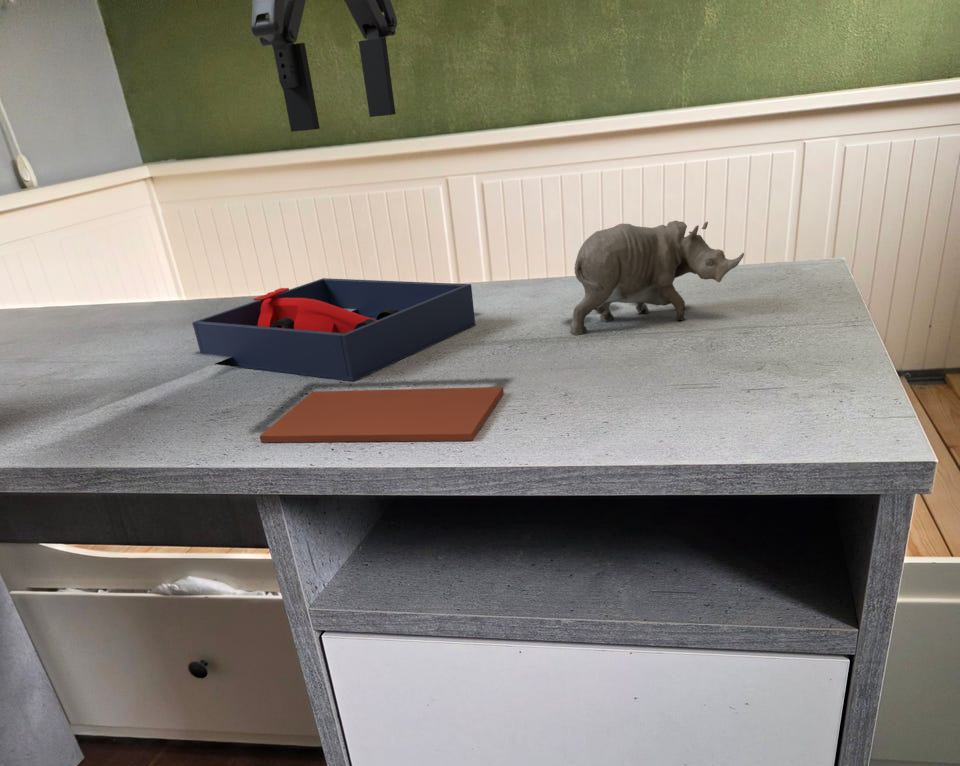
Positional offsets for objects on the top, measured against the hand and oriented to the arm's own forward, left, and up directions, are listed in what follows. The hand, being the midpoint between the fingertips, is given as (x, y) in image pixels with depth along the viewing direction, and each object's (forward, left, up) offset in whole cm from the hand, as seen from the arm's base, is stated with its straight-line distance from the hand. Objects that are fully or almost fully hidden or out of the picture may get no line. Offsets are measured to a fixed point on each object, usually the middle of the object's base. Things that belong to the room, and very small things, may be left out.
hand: (346, 123), depth 85 cm
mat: (+18, -20, -20) cm, 34 cm away
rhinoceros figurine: (+26, +13, -21) cm, 35 cm away
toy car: (-3, -3, -20) cm, 21 cm away
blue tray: (-3, -3, -20) cm, 21 cm away
